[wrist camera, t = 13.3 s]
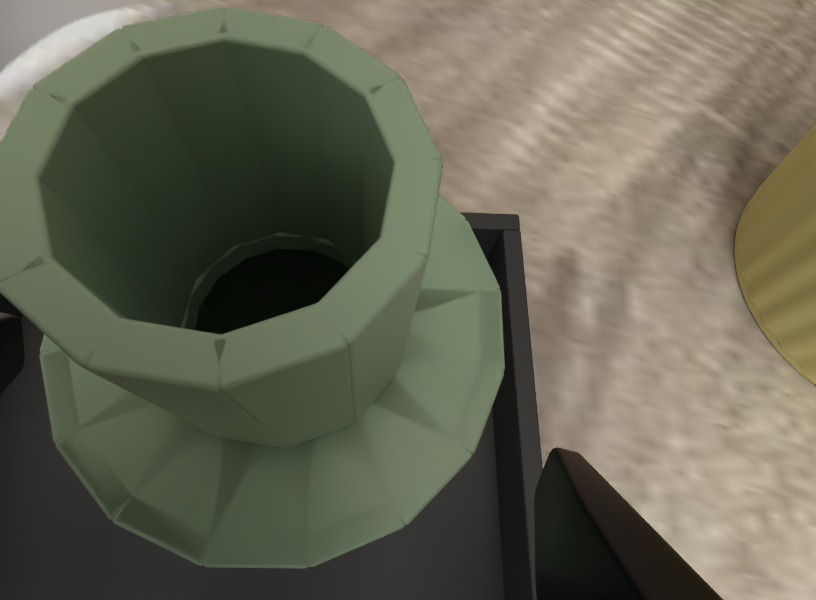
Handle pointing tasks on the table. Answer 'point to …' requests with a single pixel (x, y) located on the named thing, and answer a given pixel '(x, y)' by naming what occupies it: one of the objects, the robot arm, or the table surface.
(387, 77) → the bottle
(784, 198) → the potted cactus
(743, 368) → the table surface
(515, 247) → the tray
